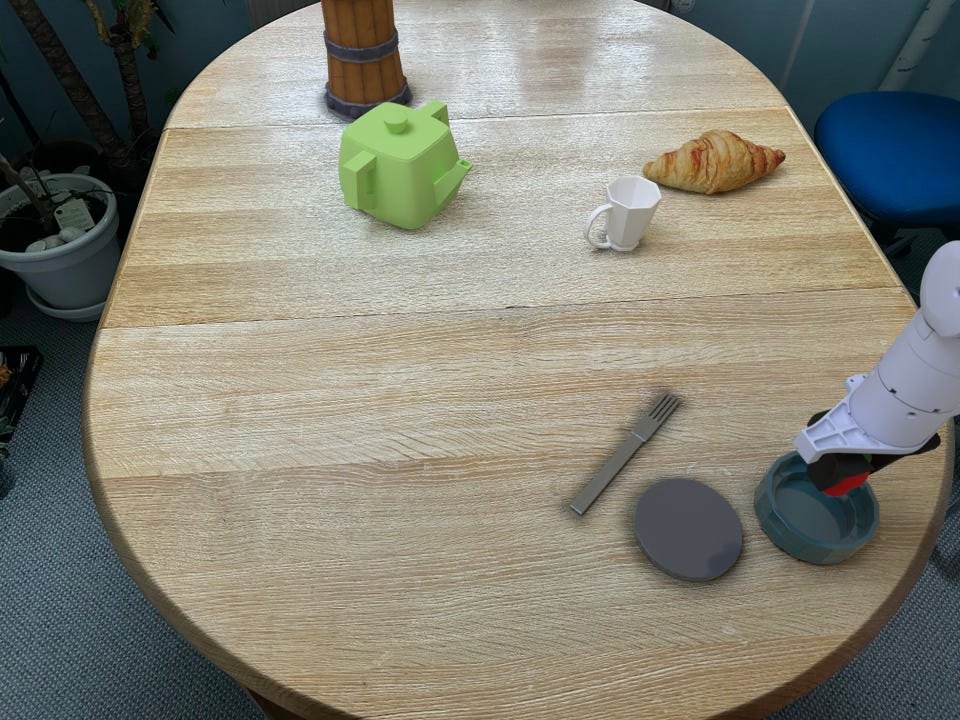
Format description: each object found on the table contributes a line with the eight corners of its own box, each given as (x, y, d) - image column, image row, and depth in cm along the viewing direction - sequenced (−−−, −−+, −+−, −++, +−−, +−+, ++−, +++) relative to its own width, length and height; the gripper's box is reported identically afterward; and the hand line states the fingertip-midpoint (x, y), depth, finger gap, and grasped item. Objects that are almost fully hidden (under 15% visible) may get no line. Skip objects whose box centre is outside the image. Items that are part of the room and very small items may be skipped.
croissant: (641, 213, 98) (660, 189, 91) (629, 149, 100) (646, 121, 92) (778, 197, 100) (807, 172, 93) (763, 135, 102) (791, 106, 94)
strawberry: (861, 478, 59) (888, 450, 56) (843, 509, 58) (869, 482, 54) (818, 452, 61) (841, 423, 57) (799, 482, 59) (822, 453, 55)
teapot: (509, 192, 95) (514, 108, 85) (423, 273, 85) (418, 188, 75) (406, 148, 102) (400, 64, 91) (315, 218, 91) (296, 133, 81)
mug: (297, 78, 114) (270, -53, 98) (373, 55, 119) (359, -72, 103) (348, 133, 104) (327, -2, 88) (429, 106, 109) (423, -26, 93)
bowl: (875, 512, 65) (896, 493, 62) (834, 588, 61) (854, 572, 58) (780, 453, 69) (795, 432, 66) (734, 520, 65) (747, 501, 62)
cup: (659, 248, 89) (674, 199, 82) (595, 272, 86) (606, 222, 79) (628, 217, 92) (640, 168, 86) (566, 239, 89) (574, 189, 83)
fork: (582, 517, 65) (583, 515, 64) (567, 506, 65) (568, 503, 65) (679, 402, 73) (680, 400, 73) (665, 394, 74) (666, 391, 74)
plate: (757, 525, 64) (761, 521, 64) (705, 604, 60) (709, 601, 59) (667, 464, 68) (670, 459, 68) (612, 534, 64) (614, 529, 63)
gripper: (959, 316, 52) (874, 415, 62) (799, 363, 49) (739, 458, 59) (1033, 387, 48) (929, 480, 58) (864, 442, 44) (786, 530, 55)
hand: (836, 473), depth 58 cm, fingers closed on strawberry, 4 cm apart
